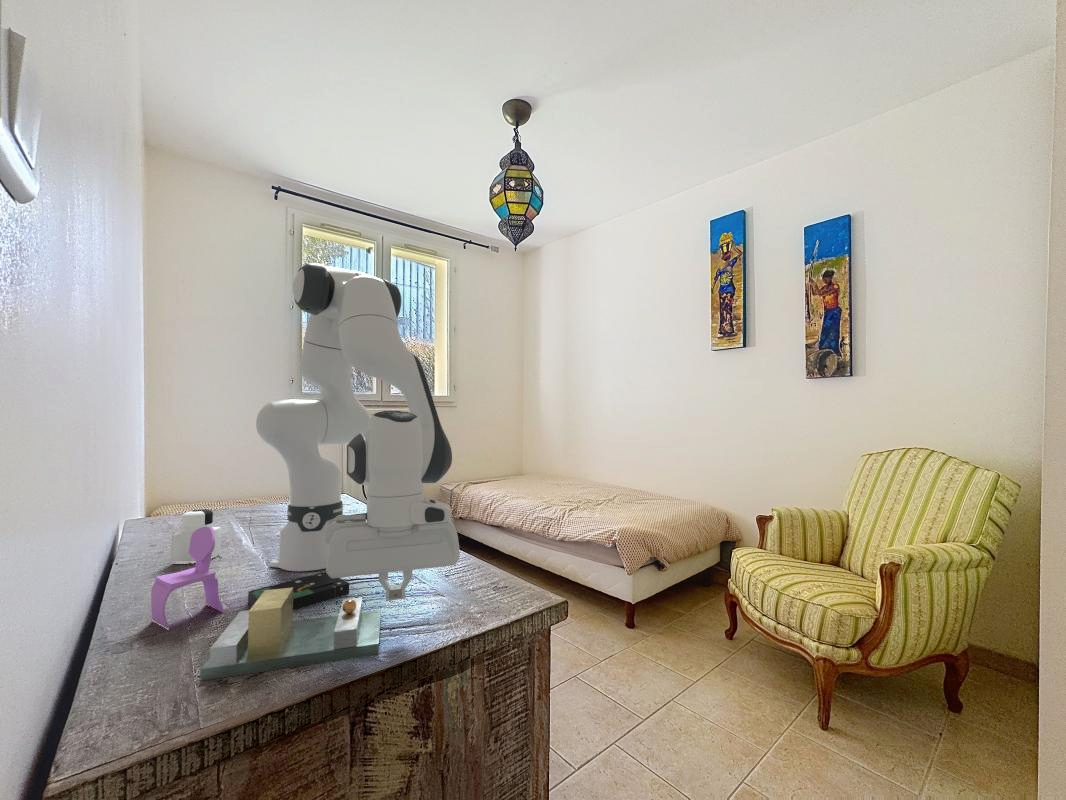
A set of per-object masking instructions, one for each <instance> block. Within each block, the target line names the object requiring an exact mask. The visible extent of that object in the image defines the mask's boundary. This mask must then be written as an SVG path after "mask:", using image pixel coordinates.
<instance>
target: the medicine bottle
mask: <svg viewBox="0 0 1066 800" xmlns="http://www.w3.org/2000/svg"><path fill="white" fill-rule="evenodd" d="M213 520H214V511H212V510H211V509H207V508H206V509H204V508H202V509H193V510H192V509H191V510H188V511H185V512H184V513H183V514H182V515H181V530H182V531H180V532H176V533H174V534H172V536H171V558H170V559H171V561H196V560H195V559H194V558H192V557H191V555H190V554H189V547H190V539H191V536H192V534H193V532H194V531H196V530H197V529H199V528H201V527H206V526H207V527H212V528H213V529H214V533H215V547H214V550H213V552H212V554H211V557H213V556H215V555H217V554H219V553H220V554H221V534H222V533H221V532H222V527H220V526H213V522H214V521H213Z"/></svg>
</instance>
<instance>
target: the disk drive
mask: <svg viewBox="0 0 1066 800" xmlns="http://www.w3.org/2000/svg"><path fill="white" fill-rule="evenodd" d="M292 587H293V612H294V611H297V610H300V608H301V609H303V607H304V608H306V607H310V605H311V606H313V604H314V605H316V603H317V604H320V603H323V601H324V602H328V601H329V600H334V599H337V598H340V597H343V596H346V595H349V594H350V582H349V581H346V580H344V579H342V578H330V577H329V576H328V574H327V573H326V571H322V572H318V573H314V574H312V575H307V576H303V577H299V578H296V579H292V580H288V581H284V582H279V583H275V584H272V585H267V586H264V587H260V588H258V589H257V588H256V589H252V590H249V591H248V594H247V604H250V605H249V606H251V607H252V606H253V605H254V604H255V602H256V601H257V600H258V599H259V597H260V596H261V595H262V593H263V592H264V591H265V590H273V589H282V588H292Z"/></svg>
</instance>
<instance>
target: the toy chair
mask: <svg viewBox="0 0 1066 800" xmlns="http://www.w3.org/2000/svg"><path fill="white" fill-rule="evenodd" d="M212 527H213V526H211V527H207V526H206V527H201V528H199V529H197V530H196V531H194V532H193V534H192V536H191V539H190V547H189V554H190V555H191V557H192V558H194V559H195V560H196V564H195V567H191V568H188V569H184V570H180V571H178V572H173V573H167V574H163V575H158V576H155V581H154V583H153V585H152V586H151V591H150V592H151V593H150V600H151V601H150V605H151V606H150V607H151V620H152V619H153V620H154V621H156V622H157V623H159V624H161V625H163V626H164V627H166V628H170V626H169V623H168V620H167V617H166V611H165V610H166V609H165V608H166V604H167V601H168V599H169V596H170V594H172V592H174V591H175V590H178V589H180V588H183V587H186V586H189V585H191V584H196V583H200V582H202V584H203V588H204V593H205V605H206V604H208V605H210V606H212V607H214V608H215V609H218V610H219V611H218V612H220V611H222V612H223V611H224V612H225V609H224V606H223V605H222V602H221V599H220V596H219V581H218V578H216V572H214V571H211V570H210V565H211V560H212V559H211V554H212V552H213V550H214V547H215V533H214V529H213V528H212ZM215 609H214V610H215ZM222 612H221V613H222ZM224 612H223V613H224Z"/></svg>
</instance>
